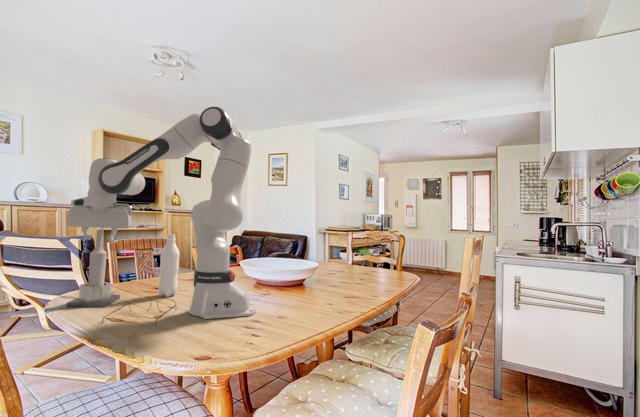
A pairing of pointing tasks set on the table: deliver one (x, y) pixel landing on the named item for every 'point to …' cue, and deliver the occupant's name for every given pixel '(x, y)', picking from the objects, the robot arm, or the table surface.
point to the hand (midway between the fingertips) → (99, 240)
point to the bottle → (97, 263)
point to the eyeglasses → (146, 310)
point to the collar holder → (94, 296)
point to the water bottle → (169, 268)
